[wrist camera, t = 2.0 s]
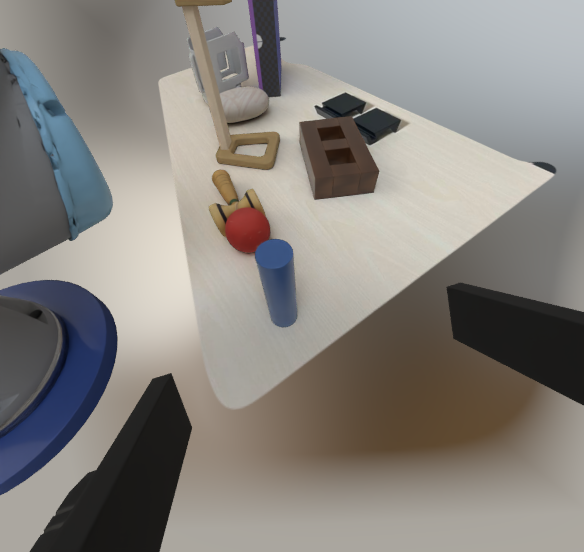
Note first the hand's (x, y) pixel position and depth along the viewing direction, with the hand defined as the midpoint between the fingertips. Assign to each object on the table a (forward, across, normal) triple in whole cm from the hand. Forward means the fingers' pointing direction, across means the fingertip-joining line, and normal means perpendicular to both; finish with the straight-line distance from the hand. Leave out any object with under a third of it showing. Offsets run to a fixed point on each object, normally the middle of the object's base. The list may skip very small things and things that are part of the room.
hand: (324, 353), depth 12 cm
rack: (+38, +16, +14) cm, 43 cm away
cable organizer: (+62, +3, +37) cm, 72 cm away
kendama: (+33, -2, +8) cm, 34 cm away
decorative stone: (+54, +4, +30) cm, 62 cm away
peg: (+20, 0, -5) cm, 20 cm away
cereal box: (+65, +15, +41) cm, 79 cm away
